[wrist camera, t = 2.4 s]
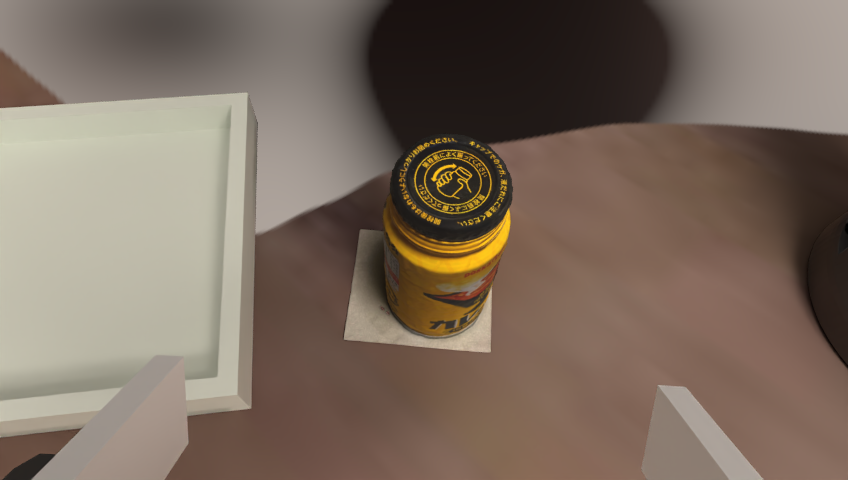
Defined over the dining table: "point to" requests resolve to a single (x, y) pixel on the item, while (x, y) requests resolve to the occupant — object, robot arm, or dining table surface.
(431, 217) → the condiment
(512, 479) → the dining table surface
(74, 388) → the tray
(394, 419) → the dining table surface
